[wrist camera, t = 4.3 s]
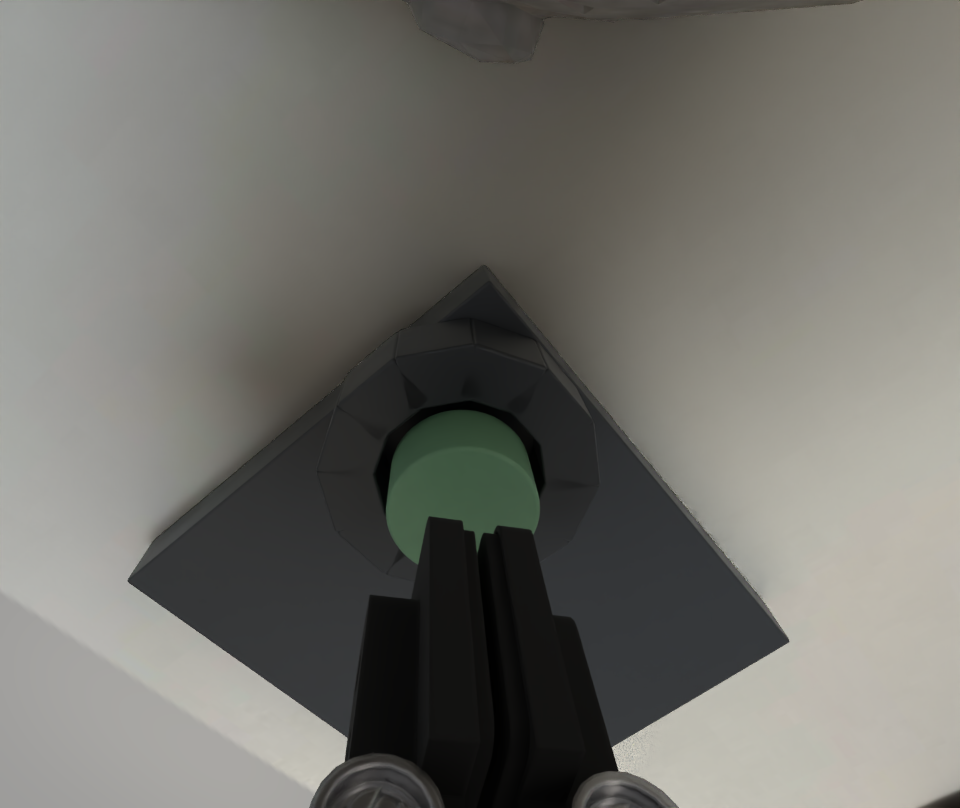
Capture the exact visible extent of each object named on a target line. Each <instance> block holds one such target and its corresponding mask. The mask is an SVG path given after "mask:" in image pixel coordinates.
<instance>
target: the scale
mask: <svg viewBox="0 0 960 808" xmlns="http://www.w3.org/2000/svg"><path fill="white" fill-rule="evenodd" d="M451 410H473V411H478V412H482V413H486V414H488V415H491V416H494V417H495V418H497V419H499V420H501V421H503V422H504V423H505V424H507V425H508V426H509V427H510V428H511V429H512V430H513V431H515V433H516V434H517V435H518V436H519V438H520V439H521V441H522V443H523V444H524V446H525V449H526V451H527V454H528V458H529V462H530V465H531V469H532V473H533V477H534V480H535V484H536V488H537V491H538V496H539V500H540V516H539V520H538V525H537V527H536V530H535V532H534V534H533V537H534V541H535V545H536V549H537V553H538V557H539V561H540V565H541V570H542V574H543V578H544V582H545V586H546V590H547V594H548V598H549V602H550V606H551V611H552V615H558V616H567V617H571V618H572V619H573V620H574V621H575V623H576V626H577V628H578V632H579V635H580V639H581V642H582V646H583V649H584V653H585V656H586V660H587V663H588V667H589V670H590V674H591V677H592V681H593V684H594V688H595V691H596V695H597V698H598V702H599V705H600V709H601V712H602V716H603V719H604V723H605V726H606V730H607V733H608V737H609V740H610V743H611V747H613V746H615V745H616V744H618V743H620V742H621V741H623V740H625V739H626V738H628V737H630V736H631V735H633V734H635V733H637V732H638V731H640V730H642V729H643V728H645V727H647V726H648V725H650V724H652V723H653V722H655V721H657V720H658V719H660V718H662V717H664V716H665V715H667V714H669V713H670V712H672V711H674V710H675V709H677V708H679V707H680V706H682V705H684V704H686V703H687V702H689V701H691V700H692V699H694V698H696V697H697V696H699V695H701V694H702V693H704V692H706V691H708V690H709V689H711V688H713V687H714V686H716V685H718V684H719V683H721V682H723V681H724V680H726V679H728V678H729V677H731V676H733V675H735V674H736V673H738V672H740V671H741V670H743V669H745V668H746V667H748V666H750V665H751V664H753V663H755V662H757V661H758V660H760V659H762V658H763V657H765V656H767V655H768V654H770V653H772V652H773V651H775V650H777V649H779V648H780V647H782V646H784V645H785V644H787V643H789V639H788V637H787V636H786V634H785V633H784V631H783V630H782V628H781V627H780V625H779V624H778V622H777V621H776V619H775V618H774V616H773V615H772V614H771V612H770V611H769V609H768V608H767V606H766V605H765V603H764V602H763V601H762V599H761V598H760V597H759V596H758V594H757V593H756V592H755V591H754V590H753V588H752V587H751V586H750V585H749V584H748V582H747V581H746V580H745V579H744V578H743V576H742V575H741V574H740V573H739V571H738V570H737V569H736V568H735V567H734V565H733V564H732V563H731V562H730V561H729V559H728V558H727V557H726V556H725V555H724V553H723V552H722V551H721V550H720V548H719V547H718V546H717V545H716V544H715V542H714V541H713V540H712V539H711V538H710V536H709V535H708V534H707V533H706V532H705V530H704V529H703V528H702V527H701V525H700V524H699V523H698V522H697V521H696V519H695V518H694V517H693V516H692V515H691V513H690V512H689V511H688V510H687V509H686V507H685V506H684V505H683V504H682V502H681V501H680V500H679V499H678V498H677V496H676V495H675V494H674V493H673V492H672V490H671V489H670V488H669V487H668V485H667V484H666V483H665V482H664V481H663V479H662V478H661V477H660V476H659V475H658V473H657V472H656V471H655V470H654V469H653V467H652V466H651V465H650V464H649V462H648V461H647V460H646V459H645V458H644V456H643V455H642V454H641V453H640V452H639V450H638V449H637V448H636V447H635V446H634V444H633V443H632V442H631V441H630V439H629V438H628V437H627V436H626V435H625V433H624V432H623V431H622V430H621V429H620V427H619V426H618V425H617V424H616V423H615V421H614V420H613V419H612V418H611V416H610V415H609V414H608V413H607V412H606V410H605V409H604V408H603V407H602V406H601V404H600V403H599V402H598V401H597V400H596V398H595V397H594V396H593V395H592V393H591V392H590V391H589V390H588V389H587V387H586V386H585V385H584V384H583V383H582V381H581V380H580V379H579V378H578V376H577V375H576V374H575V373H574V372H573V370H572V369H571V368H570V367H569V366H568V364H567V363H566V362H565V361H564V360H563V358H562V357H561V356H560V355H559V353H558V352H557V351H556V350H555V349H554V347H553V346H552V345H551V344H550V343H549V341H548V340H547V339H546V338H545V337H544V335H543V334H542V333H541V332H540V330H539V329H538V328H537V327H536V326H535V324H534V323H533V322H532V321H531V320H530V318H529V317H528V316H527V315H526V314H525V312H524V311H523V310H522V309H521V307H520V306H519V305H518V304H517V303H516V301H515V300H514V299H513V298H512V297H511V295H510V294H509V293H508V292H507V291H506V289H505V288H504V287H503V286H502V284H501V283H500V282H499V281H498V280H497V278H496V277H495V276H494V275H493V274H492V272H491V271H490V270H489V269H488V267H487V266H485V265H483V266H481V267H480V268H479V269H478V270H477V271H475V272H474V273H473V274H472V275H471V276H469V277H468V278H467V279H466V280H465V281H463V282H462V283H461V284H460V285H459V286H457V287H456V288H455V289H454V290H453V291H451V292H450V293H449V294H448V295H447V296H445V297H444V298H443V299H442V300H441V301H439V302H438V303H437V304H436V305H435V306H434V307H432V308H431V309H430V310H429V311H428V312H426V313H425V314H424V315H423V316H422V317H420V318H419V319H418V320H417V321H416V322H414V323H413V324H412V325H411V326H410V327H408V328H407V329H401V330H400V332H397V333H395V334H394V335H393V336H391V337H390V338H389V339H388V340H387V341H385V342H384V343H383V344H382V345H381V346H379V347H378V348H377V349H376V350H375V351H374V352H372V353H371V354H370V355H369V356H368V357H366V358H365V359H364V360H363V361H362V362H360V363H359V364H358V365H357V366H356V367H354V368H353V369H352V370H351V371H350V372H349V373H348V375H347V376H346V377H345V379H344V382H343V383H342V384H340V385H339V386H338V387H337V388H336V389H334V390H333V391H332V392H331V393H330V394H328V395H327V396H326V397H325V398H324V399H322V400H321V401H320V402H319V403H318V404H316V405H315V406H314V407H313V408H312V409H310V410H309V411H308V412H307V413H306V414H305V415H303V416H302V417H301V418H300V419H299V420H297V421H296V422H295V423H294V424H293V425H291V426H290V427H289V428H288V429H287V430H285V431H284V432H283V433H282V434H281V435H279V436H278V437H277V438H276V439H275V440H273V441H272V442H271V443H270V444H269V445H267V446H266V447H265V448H264V449H263V450H262V451H260V452H259V453H258V454H257V455H256V456H254V457H253V458H252V459H251V460H250V461H248V462H247V463H246V464H245V465H244V466H242V467H241V468H240V469H239V470H238V471H236V472H235V473H234V474H233V475H232V476H230V477H229V478H228V479H227V480H226V481H225V482H223V483H222V484H221V485H220V486H219V487H217V488H216V489H215V490H214V491H213V492H211V493H210V494H209V495H208V496H207V497H205V498H204V499H203V500H202V501H201V502H199V503H198V504H197V505H196V506H195V507H193V508H192V509H191V510H190V511H189V512H187V513H186V514H185V515H184V516H183V517H182V518H180V519H179V520H178V521H177V522H176V523H174V524H173V525H172V526H171V527H170V528H168V529H167V530H166V531H165V532H164V533H162V534H161V535H160V536H159V537H158V538H156V539H155V540H154V541H153V542H152V544H151V545H150V547H149V548H148V550H147V551H146V553H145V554H144V556H143V557H142V559H141V560H140V562H139V563H138V565H137V566H136V568H135V569H134V571H133V572H132V574H131V575H130V577H129V578H128V582H129V583H130V584H131V585H133V586H134V587H136V588H137V589H138V590H140V591H141V592H143V593H144V594H146V595H147V596H148V597H150V598H151V599H153V600H154V601H155V602H157V603H158V604H160V605H161V606H162V607H164V608H165V609H167V610H168V611H170V612H171V613H172V614H174V615H175V616H177V617H178V618H179V619H181V620H182V621H184V622H185V623H186V624H188V625H189V626H191V627H192V628H194V629H195V630H196V631H198V632H199V633H201V634H202V635H203V636H205V637H206V638H208V639H209V640H210V641H212V642H213V643H215V644H216V645H218V646H219V647H220V648H222V649H223V650H225V651H226V652H227V653H229V654H230V655H232V656H233V657H234V658H236V659H237V660H239V661H240V662H242V663H243V664H244V665H246V666H247V667H249V668H250V669H251V670H253V671H254V672H256V673H257V674H258V675H260V676H261V677H263V678H264V679H266V680H267V681H268V682H270V683H271V684H273V685H274V686H275V687H277V688H278V689H280V690H281V691H282V692H284V693H285V694H287V695H288V696H290V697H291V698H292V699H294V700H295V701H297V702H298V703H299V704H301V705H302V706H304V707H305V708H306V709H308V710H309V711H311V712H312V713H314V714H315V715H316V716H318V717H319V718H321V719H322V720H323V721H325V722H326V723H328V724H329V725H330V726H332V727H333V728H335V729H336V730H338V731H339V732H340V733H342V734H343V735H345V736H346V737H347V738H348V734H349V726H350V719H351V711H352V704H353V696H354V689H355V682H356V675H357V668H358V661H359V655H360V648H361V642H362V636H363V629H364V624H365V618H366V612H367V606H368V600H369V595H378V596H387V597H396V598H405V599H411V597H412V592H413V587H414V582H415V577H416V572H417V567H418V564H416V563H414V562H413V561H412V560H410V559H409V558H408V557H407V556H406V555H405V554H404V553H403V552H402V551H401V550H400V549H399V547H398V546H397V545H396V543H395V542H394V540H393V538H392V536H391V534H390V532H389V529H388V526H387V520H386V504H387V496H388V488H389V480H390V472H391V464H392V459H393V455H394V452H395V450H396V448H397V446H398V444H399V442H400V441H401V439H402V438H403V437H404V435H405V434H406V433H407V432H408V431H409V430H410V429H411V428H412V427H413V426H415V425H416V424H418V423H419V422H421V421H422V420H424V419H426V418H428V417H430V416H432V415H435V414H438V413H441V412H445V411H451Z"/></svg>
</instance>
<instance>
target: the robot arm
mask: <svg viewBox="0 0 960 808" xmlns="http://www.w3.org/2000/svg"><path fill="white" fill-rule="evenodd" d="M309 808H679V807H678V806H677V805H676V804H675V803H674V802H673V801H672V800H671V799H670V798H669V797H668V796H667V795H666V794H665V793H664V792H663V791H662V790H661V789H659V788H657V787H656V786H654V785H653V784H651V783H650V782H648V781H647V780H645V779H643V778H641V777H638V776H635V775H632V774H630V773H627V772H619V771H618V768H617V764H616V761H615V757H614V754H613V750H612V747H611V743H610V740H609V737H608V733H607V730H606V726H605V723H604V719H603V716H602V712H601V709H600V705H599V702H598V698H597V695H596V691H595V688H594V684H593V681H592V677H591V674H590V670H589V667H588V663H587V660H586V656H585V653H584V649H583V646H582V642H581V639H580V635H579V632H578V628H577V626H576V623H575V621H574V620H573V619H572V618H571V617H567V616H558V615H552V611H551V606H550V602H549V598H548V594H547V590H546V586H545V582H544V578H543V574H542V570H541V565H540V561H539V557H538V553H537V549H536V545H535V541H534V537H533V533H532V531H531V530H530V529H523V528H516V527H508V526H500V525H498V526H496V528H495V530H494V533H493V534H492V533H483V534H482V537H481V540H480V544H479V548H478V552H477V549H476V539H475V532H474V531H469V530H464V527H463V521H462V520H454V519H447V518H439V517H432V516H429V517H428V520H427V523H426V528H425V533H424V538H423V543H422V548H421V553H420V557H419V562H418V567H417V572H416V577H415V582H414V587H413V592H412V597H411V599H405V598H396V597H387V596H378V595H369V600H368V606H367V612H366V618H365V624H364V629H363V636H362V642H361V648H360V655H359V661H358V668H357V675H356V682H355V689H354V696H353V704H352V711H351V719H350V726H349V734H348V741H347V748H346V756H345V762H344V763H342V764H341V765H339V766H337V767H336V768H335V769H334V770H333V771H332V772H331V773H330V774H329V775H328V776H327V777H326V778H325V779H324V780H323V781H322V782H321V784H320V786H319V788H318V789H317V791H316V793H315V795H314V797H313V799H312V801H311V804H310V807H309Z"/></svg>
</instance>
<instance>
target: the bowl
mask: <svg viewBox="0 0 960 808" xmlns="http://www.w3.org/2000/svg"><path fill="white" fill-rule="evenodd" d="M403 1H405V2H406V3H408V4H407V5H408V7H409V9H410V11H411V13H412V15H413V17H414V19H415V21H416V23H417V25H418V27H419V29H420V30H422V31H424V32H426V33H428V34H430V35H431V36H433V37H435V38H437V39H439V40H441V41H443V42H444V43H446V44H448V45H450V46H452V47H454V48H455V49H457V50H459V51H461V52H463V53H465V54H466V55H468V56H470V57H472V58H474V59H476V60H478V61H479V62H498V63H518V62H523V61H527V60H531V59H532V57H533V54H534V51H535V48H536V45H537V42H538V39H539V36H540V34H541V31H542V28H543V25H544V21H543V19H544V18H548V17H553V16H557V17H568V18H578V19H589V20H600V21H610V22H614V21H617V20H619V19H639V20H642V19H656V18H669V17H682V16H696V15H709V14H722V13H736V12H749V11H762V10H775V9H789V8H802V7H815V6H829V5H842V4H852V3H855V2H859V1H862V0H403Z"/></svg>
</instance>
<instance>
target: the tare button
mask: <svg viewBox="0 0 960 808" xmlns="http://www.w3.org/2000/svg"><path fill="white" fill-rule="evenodd" d="M429 516H432V517H439V518H447V519H454V520H462V521H463V527H464V530H469V531H474V532H475V539H476V549H477V552H478V548H479V544H480V540H481V537H482V534H483V533H492V534H493V533H494V530H495V528H496V526H498V525H500V526H508V527H516V528H523V529H530V530H531V531H532V533H533V534H534V532H535V530H536V527H537V525H538V520H539V516H540V500H539V496H538V491H537V488H536V484H535V480H534V477H533V473H532V469H531V465H530V462H529V458H528V454H527V451H526V449H525V446H524V444H523V443H522V441H521V439H520V438H519V436H518V435H517V434H516V433H515V431H513V430H512V429H511V428H510V427H509V426H508V425H507V424H505V423H504V422H503V421H501V420H499V419H497V418H495V417H494V416H491V415H488V414H486V413H482V412H478V411H473V410H451V411H445V412H441V413H438V414H435V415H432V416H430V417H428V418H426V419H424V420H422V421H421V422H419V423H418V424H416V425H415V426H413V427H412V428H411V429H410V430H409V431H408V432H407V433H406V434H405V435H404V437H403V438H402V439H401V441H400V442H399V444H398V446H397V448H396V450H395V452H394V455H393V459H392V464H391V472H390V480H389V488H388V496H387V504H386V520H387V526H388V529H389V532H390V534H391V536H392V538H393V540H394V542H395V543H396V545H397V546H398V547H399V549H400V550H401V551H402V552H403V553H404V554H405V555H406V556H407V557H408V558H409V559H410V560H412V561H413V562H414V563H416V564H418V562H419V557H420V553H421V548H422V543H423V538H424V533H425V528H426V523H427V520H428V517H429Z"/></svg>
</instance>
